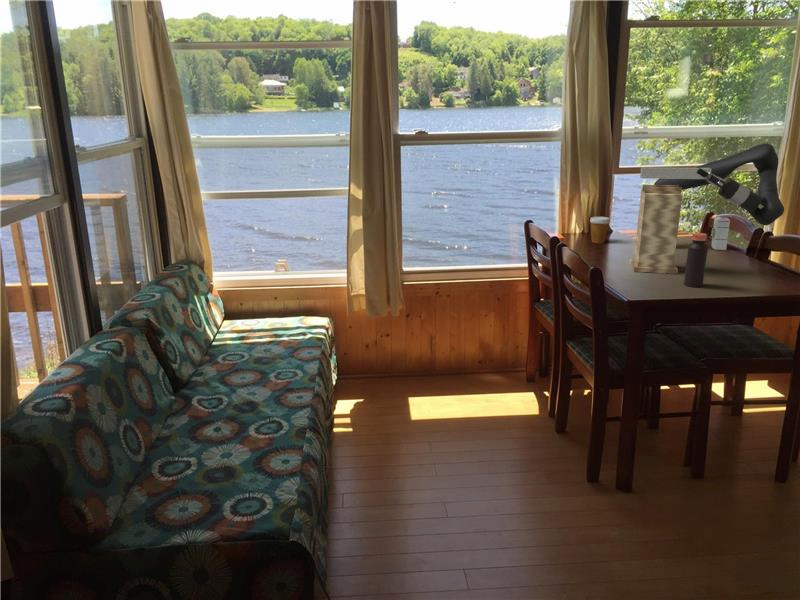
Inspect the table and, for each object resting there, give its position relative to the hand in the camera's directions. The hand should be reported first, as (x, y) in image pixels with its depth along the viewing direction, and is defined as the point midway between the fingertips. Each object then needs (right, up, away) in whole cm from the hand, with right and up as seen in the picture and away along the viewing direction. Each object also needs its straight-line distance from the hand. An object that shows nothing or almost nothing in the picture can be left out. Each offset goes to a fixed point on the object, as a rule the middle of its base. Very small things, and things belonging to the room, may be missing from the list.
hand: (697, 169), depth 264 cm
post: (-12, -39, +15) cm, 43 cm away
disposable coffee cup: (-20, -23, +64) cm, 71 cm away
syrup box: (+32, -28, +49) cm, 65 cm away
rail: (-8, -3, +3) cm, 9 cm away
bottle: (-6, -46, -9) cm, 48 cm away
